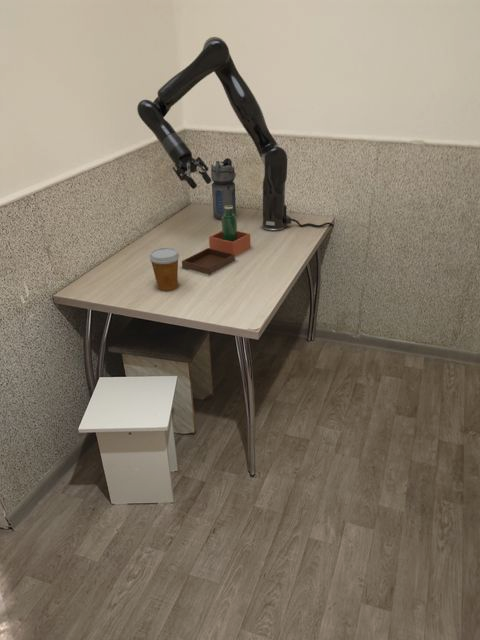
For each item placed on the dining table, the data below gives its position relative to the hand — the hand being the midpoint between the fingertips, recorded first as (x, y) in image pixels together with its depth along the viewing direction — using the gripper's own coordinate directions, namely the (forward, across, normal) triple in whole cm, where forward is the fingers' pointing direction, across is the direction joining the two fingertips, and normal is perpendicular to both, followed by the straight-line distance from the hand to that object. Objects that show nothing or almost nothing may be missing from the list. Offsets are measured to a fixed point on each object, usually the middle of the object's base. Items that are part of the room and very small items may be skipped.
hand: (202, 185), depth 189 cm
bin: (+25, 0, +8) cm, 26 cm away
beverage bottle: (+6, +32, +26) cm, 42 cm away
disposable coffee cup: (+26, -38, +7) cm, 46 cm away
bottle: (+24, 0, +8) cm, 25 cm away
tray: (+26, -16, +7) cm, 31 cm away
